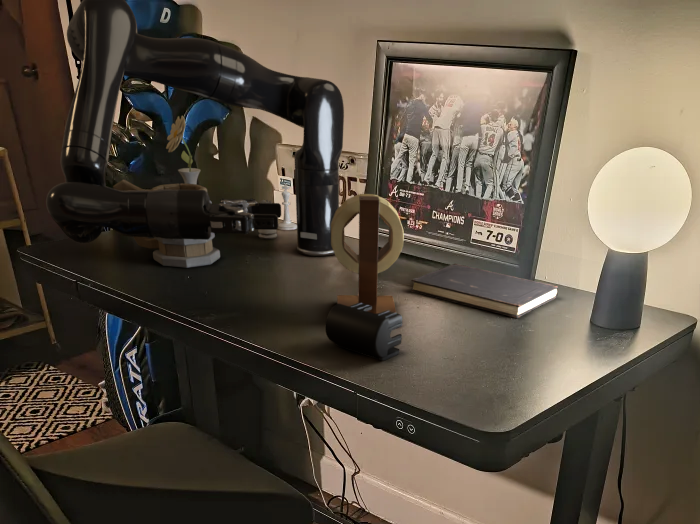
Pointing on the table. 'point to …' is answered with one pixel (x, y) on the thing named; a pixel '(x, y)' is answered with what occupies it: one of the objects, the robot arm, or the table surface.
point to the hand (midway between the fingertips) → (279, 216)
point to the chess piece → (286, 212)
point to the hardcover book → (485, 290)
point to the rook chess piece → (267, 233)
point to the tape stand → (368, 260)
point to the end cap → (364, 330)
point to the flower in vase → (175, 138)
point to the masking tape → (386, 253)
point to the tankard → (176, 249)
